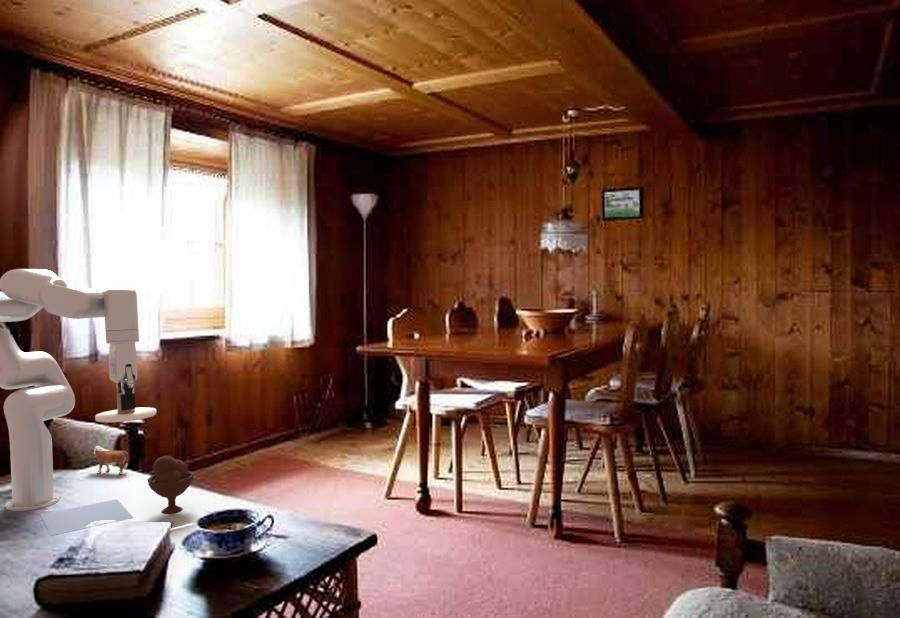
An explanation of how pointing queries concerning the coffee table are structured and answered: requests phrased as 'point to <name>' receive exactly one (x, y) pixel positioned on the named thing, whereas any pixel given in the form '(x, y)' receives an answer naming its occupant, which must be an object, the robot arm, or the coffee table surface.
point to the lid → (125, 413)
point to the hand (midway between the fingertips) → (126, 407)
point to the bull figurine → (110, 458)
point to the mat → (84, 516)
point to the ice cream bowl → (170, 481)
